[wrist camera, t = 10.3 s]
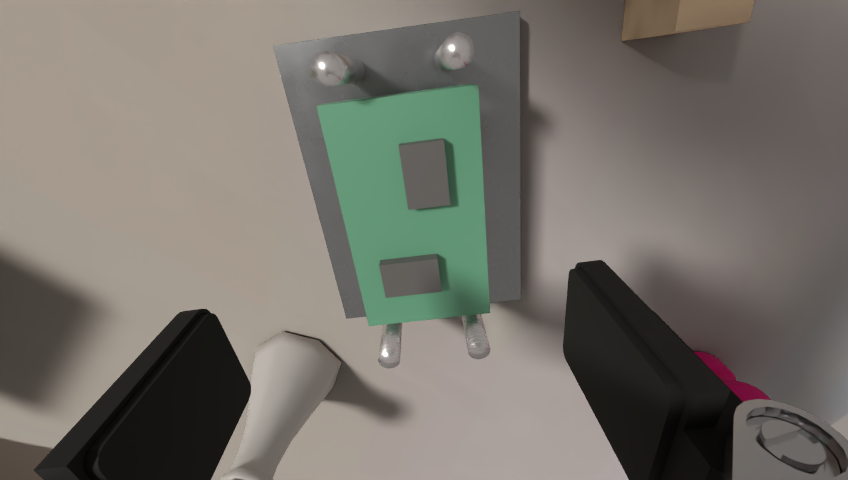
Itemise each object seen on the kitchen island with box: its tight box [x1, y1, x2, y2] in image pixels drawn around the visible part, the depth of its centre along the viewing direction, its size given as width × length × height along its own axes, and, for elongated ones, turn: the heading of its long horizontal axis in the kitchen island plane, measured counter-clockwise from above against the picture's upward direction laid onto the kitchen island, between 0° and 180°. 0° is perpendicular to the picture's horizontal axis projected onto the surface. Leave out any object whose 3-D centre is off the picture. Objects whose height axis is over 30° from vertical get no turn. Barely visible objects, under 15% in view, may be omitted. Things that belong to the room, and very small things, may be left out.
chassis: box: [273, 11, 521, 368], centre depth 20 cm, size 18×13×8 cm
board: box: [317, 84, 490, 326], centre depth 18 cm, size 12×7×3 cm, turn 7°
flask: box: [220, 332, 341, 480], centre depth 25 cm, size 7×7×10 cm
